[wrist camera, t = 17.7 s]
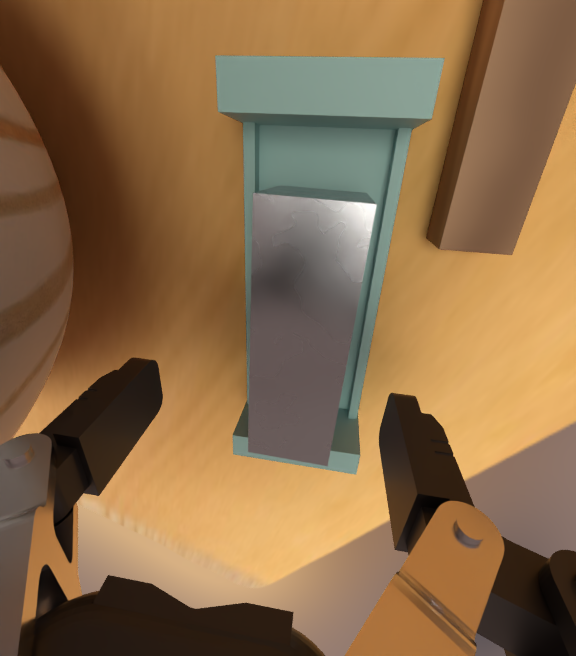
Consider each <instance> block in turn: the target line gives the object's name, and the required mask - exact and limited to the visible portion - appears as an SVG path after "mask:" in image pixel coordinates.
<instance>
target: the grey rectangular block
mask: <svg viewBox="0 0 576 656" xmlns="http://www.w3.org/2000/svg"><path fill="white" fill-rule="evenodd" d="M376 206H377V204H376V203H375V202H374V200H373V199H372V198H371V197H370V196H369V195H368V194H367V193H361V192H350V191H339V190H327V189H316V188H305V187H293V186H282V185H279V186H276V187H272V188H268V189H265V190H261V191H258V192H254V193H253V207H252V260H251V313H250V366H249V419H248V452H251V453H257V454H262V455H268V456H273V457H279V458H284V459H290V460H295V461H301V462H306V463H312V464H317V465H323V466H328V462H329V457H330V451H331V446H332V441H333V435H334V430H335V425H336V419H337V414H338V409H339V403H340V398H341V393H342V387H343V382H344V377H345V371H346V366H347V361H348V355H349V350H350V345H351V339H352V334H353V329H354V323H355V318H356V313H357V307H358V302H359V297H360V291H361V286H362V281H363V275H364V270H365V265H366V260H367V254H368V249H369V244H370V238H371V233H372V228H373V222H374V217H375V212H376Z"/></svg>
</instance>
